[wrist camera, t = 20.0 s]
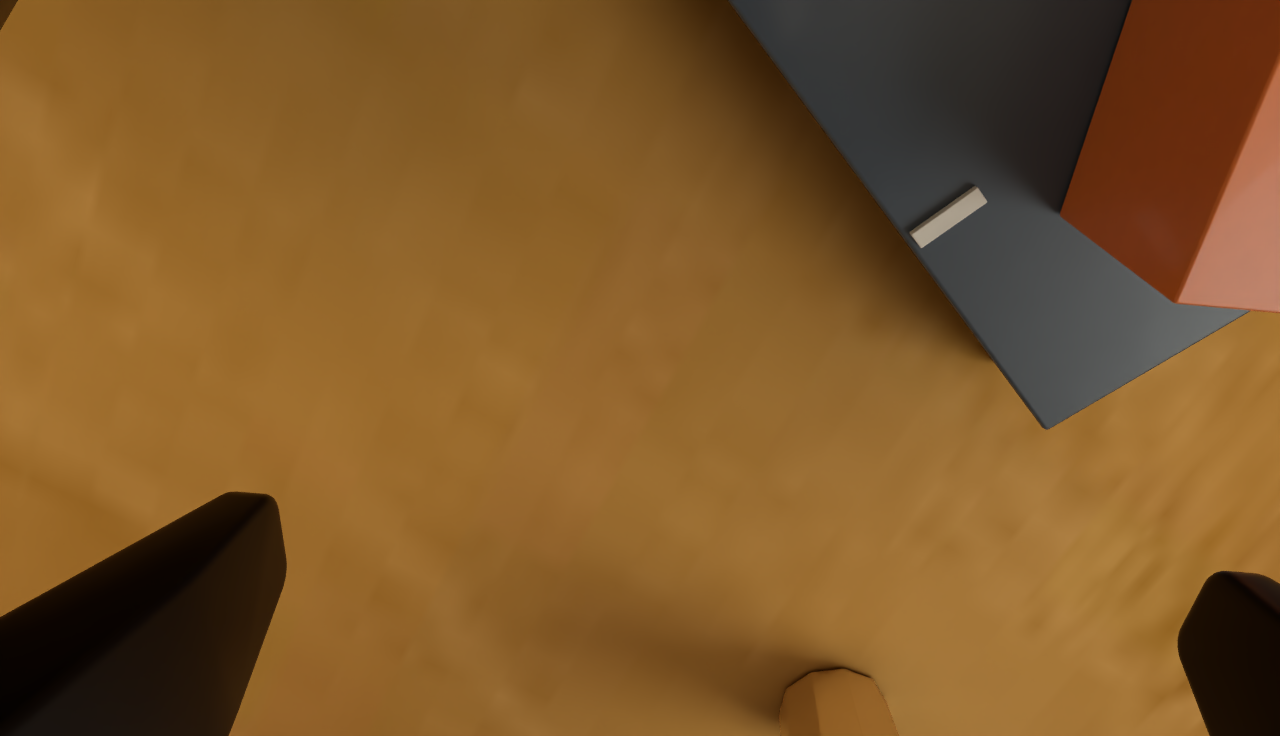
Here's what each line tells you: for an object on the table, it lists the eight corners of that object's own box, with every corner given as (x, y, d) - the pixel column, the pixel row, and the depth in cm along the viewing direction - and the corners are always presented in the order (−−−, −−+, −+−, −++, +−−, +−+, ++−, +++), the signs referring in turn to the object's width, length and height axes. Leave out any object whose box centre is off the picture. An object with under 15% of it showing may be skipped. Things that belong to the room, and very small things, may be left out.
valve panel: (654, -100, 16) (652, -102, 13) (1161, -589, 13) (1300, -728, 10) (996, 365, 21) (1048, 436, 18) (1434, 91, 17) (1583, 125, 15)
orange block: (1153, 225, 16) (1306, 322, 12) (1057, 216, 16) (1181, 311, 12) (1287, -115, 13) (1538, -127, 9) (1172, -127, 13) (1380, -143, 9)
